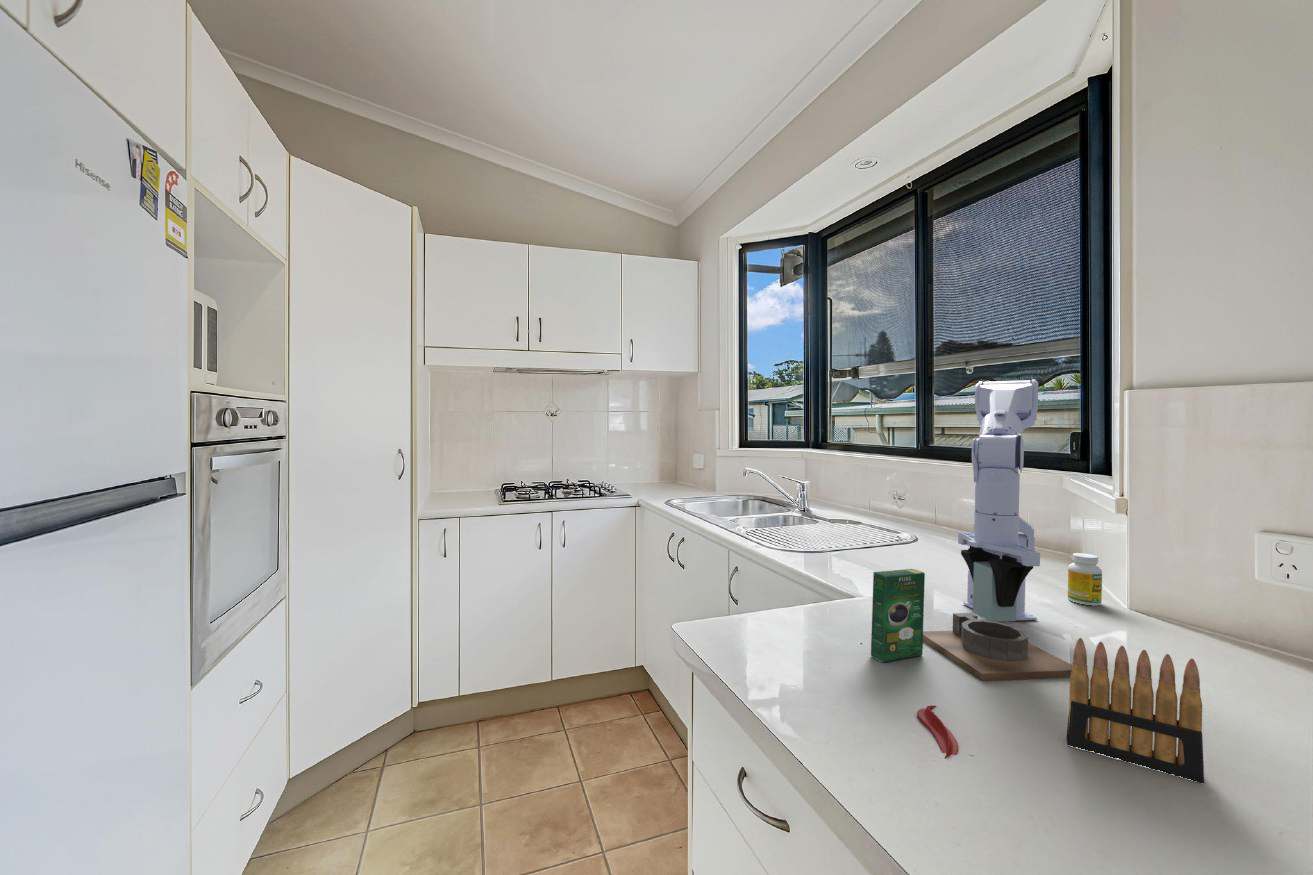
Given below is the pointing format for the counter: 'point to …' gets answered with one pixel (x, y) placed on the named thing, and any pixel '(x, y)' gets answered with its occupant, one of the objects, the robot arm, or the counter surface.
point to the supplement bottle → (1085, 580)
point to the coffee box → (897, 614)
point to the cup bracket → (995, 650)
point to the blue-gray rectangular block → (989, 596)
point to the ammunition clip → (1137, 713)
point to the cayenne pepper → (938, 731)
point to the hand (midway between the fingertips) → (994, 600)
